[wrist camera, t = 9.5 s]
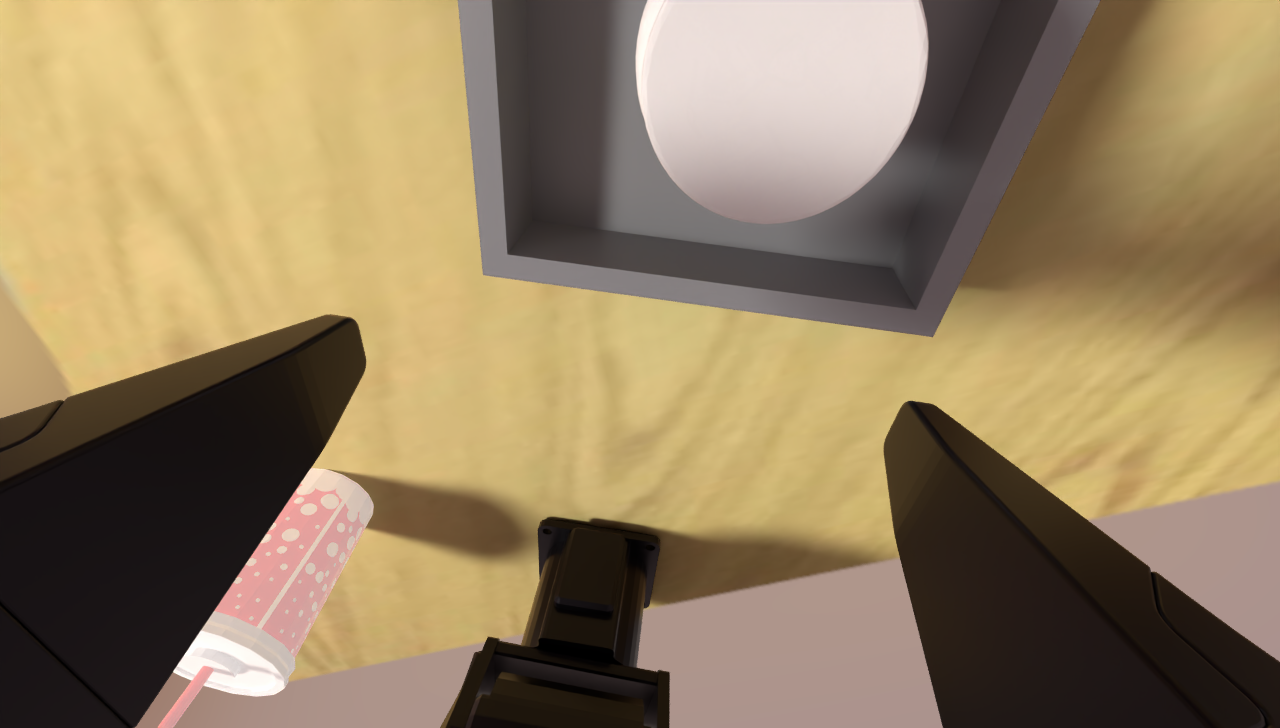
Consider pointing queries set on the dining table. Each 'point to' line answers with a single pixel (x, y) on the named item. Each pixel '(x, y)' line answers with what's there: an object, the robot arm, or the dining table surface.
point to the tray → (726, 248)
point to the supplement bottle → (778, 98)
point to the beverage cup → (277, 593)
